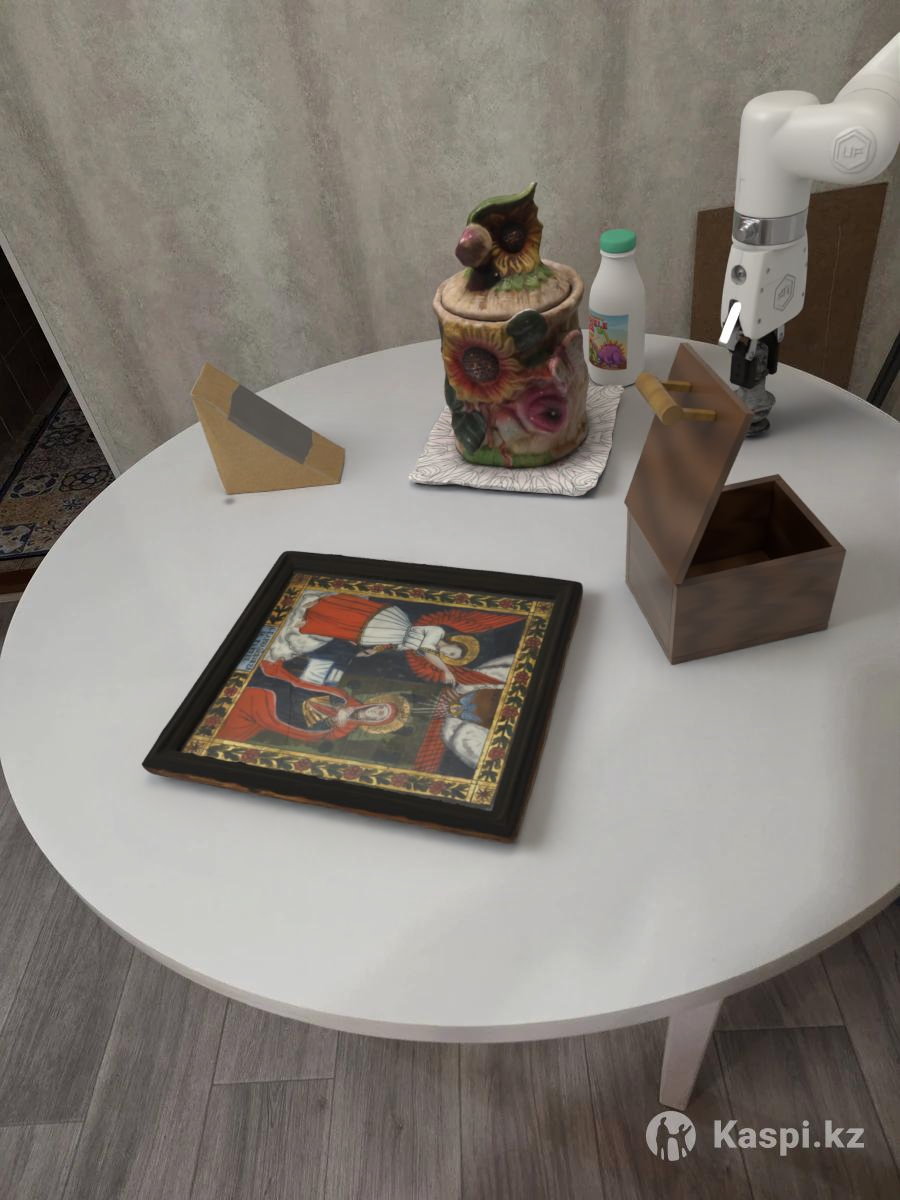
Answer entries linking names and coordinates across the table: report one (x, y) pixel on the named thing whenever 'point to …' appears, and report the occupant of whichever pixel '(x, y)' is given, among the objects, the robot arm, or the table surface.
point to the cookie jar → (515, 365)
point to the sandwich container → (260, 439)
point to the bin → (740, 575)
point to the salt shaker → (758, 394)
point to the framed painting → (381, 692)
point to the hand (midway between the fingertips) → (753, 376)
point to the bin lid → (685, 457)
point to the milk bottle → (617, 313)
